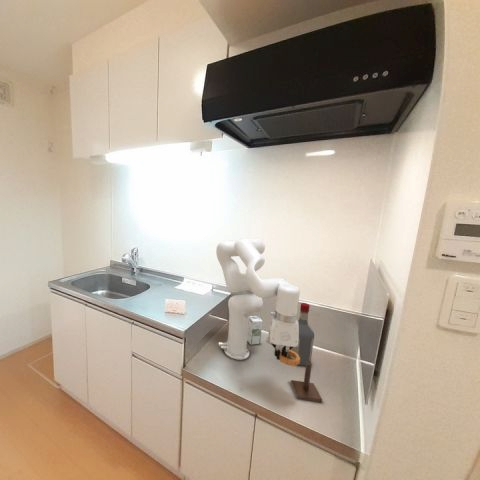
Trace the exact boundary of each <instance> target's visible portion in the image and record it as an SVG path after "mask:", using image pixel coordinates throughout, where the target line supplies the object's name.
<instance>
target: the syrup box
mask: <svg viewBox="0 0 480 480" xmlns="http://www.w3.org/2000/svg"><path fill="white" fill-rule="evenodd" d="M247 320H248V336H247V343H249V345H250V346H252V345H261V339H262V328H263V320H262V319H261V318H260V317H259V316H258V315H253V316H252V315H250V316H247Z"/></svg>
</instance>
